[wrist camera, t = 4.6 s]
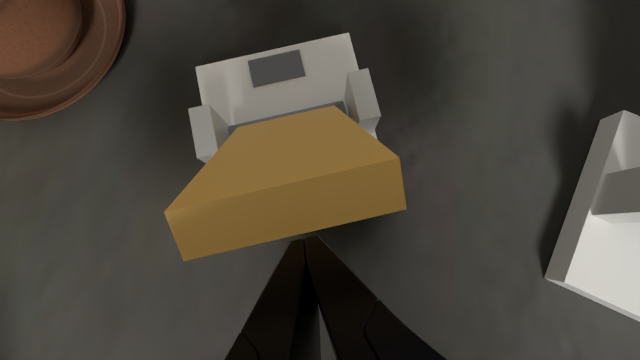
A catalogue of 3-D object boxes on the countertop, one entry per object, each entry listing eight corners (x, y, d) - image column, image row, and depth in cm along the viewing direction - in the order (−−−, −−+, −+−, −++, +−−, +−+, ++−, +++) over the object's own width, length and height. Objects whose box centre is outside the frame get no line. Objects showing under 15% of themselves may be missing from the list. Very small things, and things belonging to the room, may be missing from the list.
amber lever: (345, 124, 18) (429, 208, 7) (238, 149, 18) (162, 270, 7) (340, 99, 18) (422, 147, 7) (230, 124, 18) (138, 213, 7)
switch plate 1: (388, 204, 19) (407, 195, 15) (235, 239, 19) (206, 242, 15) (347, 47, 21) (352, -4, 16) (205, 79, 21) (171, 36, 16)
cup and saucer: (70, -75, 23) (-22, -186, 17) (177, 45, 21) (118, -30, 15) (-80, 34, 22) (-237, -43, 16) (21, 169, 20) (-110, 142, 14)
